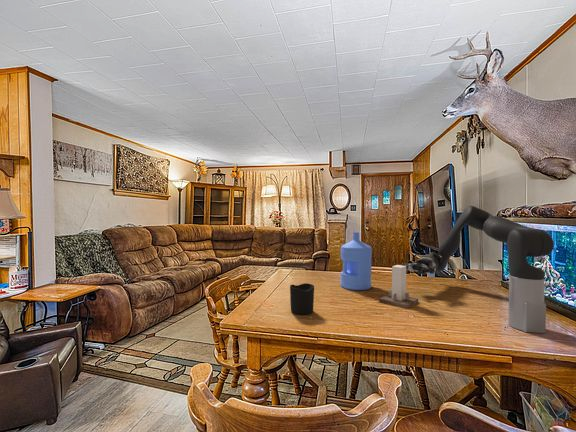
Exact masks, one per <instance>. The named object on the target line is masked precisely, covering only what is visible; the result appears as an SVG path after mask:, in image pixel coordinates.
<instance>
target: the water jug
mask: <svg viewBox="0 0 576 432" xmlns="http://www.w3.org/2000/svg"><path fill="white" fill-rule="evenodd" d="M372 253H373V251H372V246H370V245H369V244H368V243H367V244H366V243H365V242H363V241H361V240H360V232H357V231H356V232H353V231H352V240H351V241H349V242H347V243H344V244H342V245H341V246H340V260H341V261H342V270H341V272H340V280H339V281H340V286H341V287H342V288H343V289H345V290H350V291H367V290H369V289H371V288H372V268H373V267H372V256H373V255H372Z"/></svg>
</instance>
